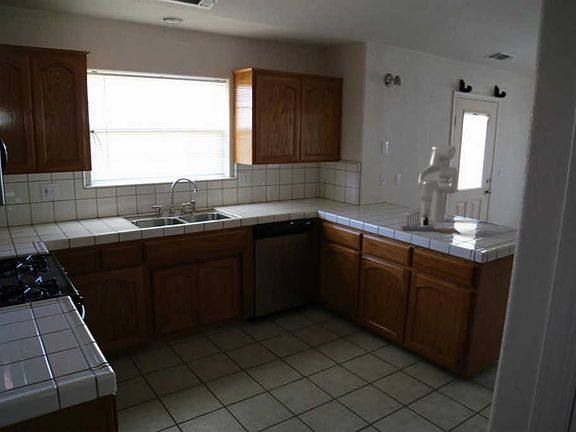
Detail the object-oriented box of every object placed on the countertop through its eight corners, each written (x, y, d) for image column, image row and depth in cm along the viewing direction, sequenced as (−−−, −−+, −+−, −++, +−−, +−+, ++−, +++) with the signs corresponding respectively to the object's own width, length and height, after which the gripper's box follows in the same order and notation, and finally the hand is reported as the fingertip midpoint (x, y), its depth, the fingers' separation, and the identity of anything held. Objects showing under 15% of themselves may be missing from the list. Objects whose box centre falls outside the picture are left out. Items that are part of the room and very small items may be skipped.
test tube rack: (416, 223, 336) (417, 206, 334) (421, 224, 334) (422, 206, 331) (402, 229, 317) (403, 211, 314) (408, 230, 314) (409, 211, 312)
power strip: (400, 229, 314) (400, 224, 313) (431, 230, 313) (432, 225, 312) (402, 232, 307) (402, 226, 307) (434, 232, 306) (434, 227, 305)
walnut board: (435, 229, 316) (435, 227, 315) (454, 229, 315) (454, 228, 314) (440, 233, 303) (440, 232, 303) (459, 234, 302) (460, 232, 302)
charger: (420, 228, 312) (421, 215, 310) (427, 228, 312) (428, 215, 309) (422, 230, 308) (422, 216, 306) (428, 230, 308) (429, 216, 306)
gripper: (418, 196, 314) (416, 221, 317) (424, 201, 297) (422, 227, 301) (429, 197, 313) (427, 222, 317) (435, 201, 297) (433, 227, 301)
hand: (424, 224), depth 309 cm, fingers closed on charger, 4 cm apart
